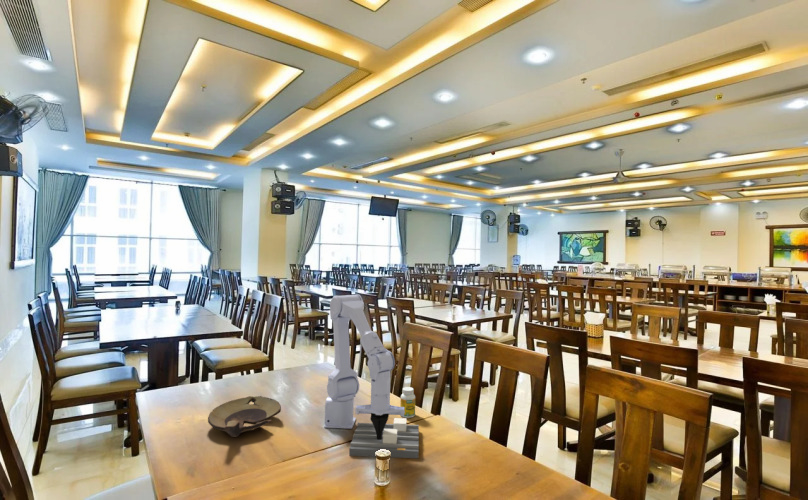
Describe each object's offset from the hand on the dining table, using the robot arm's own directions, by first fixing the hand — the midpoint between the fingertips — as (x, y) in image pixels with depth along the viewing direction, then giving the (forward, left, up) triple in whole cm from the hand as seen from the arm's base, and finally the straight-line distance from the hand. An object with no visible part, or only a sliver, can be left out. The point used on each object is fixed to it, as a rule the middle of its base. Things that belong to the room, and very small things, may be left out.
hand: (379, 438), depth 119 cm
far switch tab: (+6, +8, -1) cm, 10 cm away
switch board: (+2, +4, -3) cm, 5 cm away
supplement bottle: (+8, +25, -3) cm, 26 cm away
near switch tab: (+3, 0, -1) cm, 3 cm away
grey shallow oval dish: (-47, +10, -4) cm, 48 cm away
